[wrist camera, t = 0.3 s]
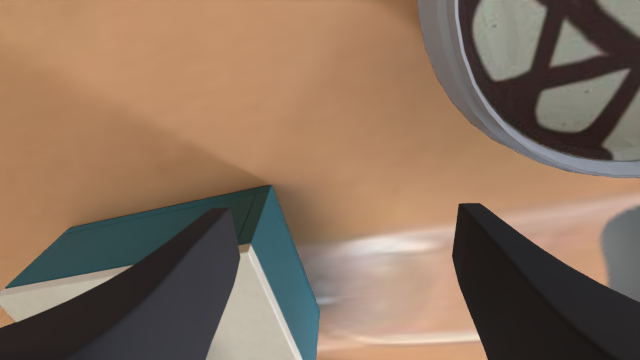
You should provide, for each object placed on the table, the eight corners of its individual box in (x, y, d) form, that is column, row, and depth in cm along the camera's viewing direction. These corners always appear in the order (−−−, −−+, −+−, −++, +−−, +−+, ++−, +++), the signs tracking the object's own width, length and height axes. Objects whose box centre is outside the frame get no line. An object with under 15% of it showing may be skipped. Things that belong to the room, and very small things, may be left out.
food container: (373, 86, 20) (392, 179, 11) (390, -51, 17) (434, -71, 8) (614, 103, 20) (827, 213, 11) (674, -34, 17) (1037, -36, 8)
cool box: (320, 311, 28) (314, 383, 23) (146, 337, 31) (108, 406, 26) (271, 184, 23) (251, 241, 18) (68, 227, 26) (3, 287, 21)
